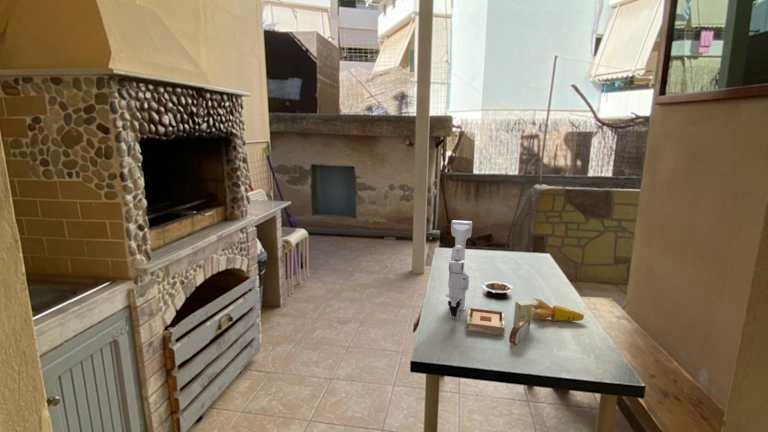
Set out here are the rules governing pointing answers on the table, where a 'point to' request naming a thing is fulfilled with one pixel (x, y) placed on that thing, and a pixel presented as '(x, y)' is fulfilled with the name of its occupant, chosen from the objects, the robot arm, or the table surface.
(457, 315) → the peg
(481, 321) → the socket plate
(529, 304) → the skincare box
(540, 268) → the table surface
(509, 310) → the table surface
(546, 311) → the yellow tapered piece
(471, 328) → the open box
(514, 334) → the tin
